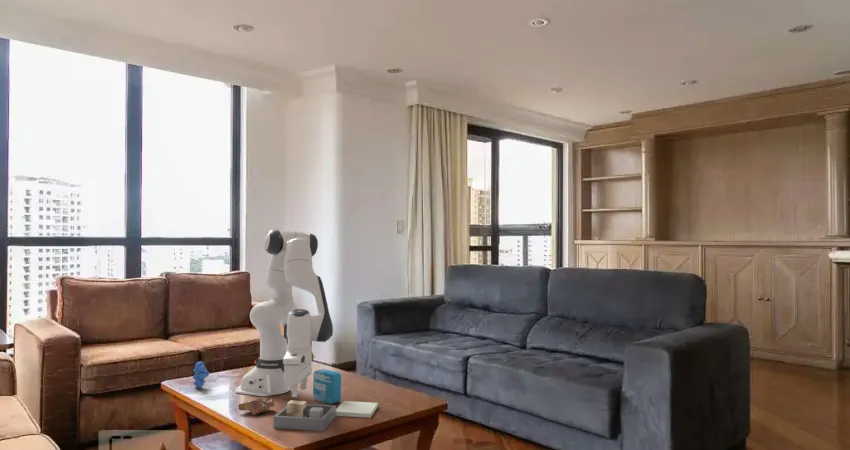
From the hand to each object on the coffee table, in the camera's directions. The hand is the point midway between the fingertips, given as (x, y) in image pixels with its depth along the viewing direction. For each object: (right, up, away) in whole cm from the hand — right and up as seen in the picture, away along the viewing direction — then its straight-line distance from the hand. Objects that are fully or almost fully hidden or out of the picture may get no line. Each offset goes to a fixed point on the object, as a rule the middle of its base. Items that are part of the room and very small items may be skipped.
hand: (299, 393), depth 211 cm
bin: (+2, -10, 0) cm, 11 cm away
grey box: (+6, -11, -1) cm, 12 cm away
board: (+19, -11, +14) cm, 26 cm away
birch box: (-1, -10, 0) cm, 10 cm away
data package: (+6, -11, +26) cm, 29 cm away
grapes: (-51, -10, +41) cm, 67 cm away
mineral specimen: (-18, -10, +10) cm, 23 cm away
